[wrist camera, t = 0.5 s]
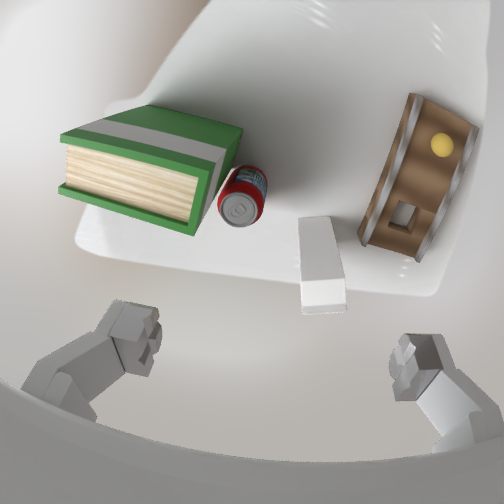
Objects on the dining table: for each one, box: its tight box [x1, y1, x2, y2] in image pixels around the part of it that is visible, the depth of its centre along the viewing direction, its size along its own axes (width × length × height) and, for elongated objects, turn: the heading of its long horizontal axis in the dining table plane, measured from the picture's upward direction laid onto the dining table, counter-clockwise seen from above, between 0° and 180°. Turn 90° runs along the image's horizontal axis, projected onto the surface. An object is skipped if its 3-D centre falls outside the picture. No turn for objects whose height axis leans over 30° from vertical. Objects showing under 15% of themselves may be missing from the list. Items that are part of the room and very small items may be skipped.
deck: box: [357, 93, 479, 263], centre depth 47 cm, size 28×13×4 cm, turn 167°
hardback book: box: [58, 105, 243, 236], centre depth 40 cm, size 18×7×24 cm, turn 73°
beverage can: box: [217, 166, 267, 227], centre depth 48 cm, size 7×7×12 cm
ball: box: [431, 133, 454, 157], centre depth 40 cm, size 4×4×4 cm
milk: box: [298, 216, 347, 315], centre depth 48 cm, size 6×6×22 cm
